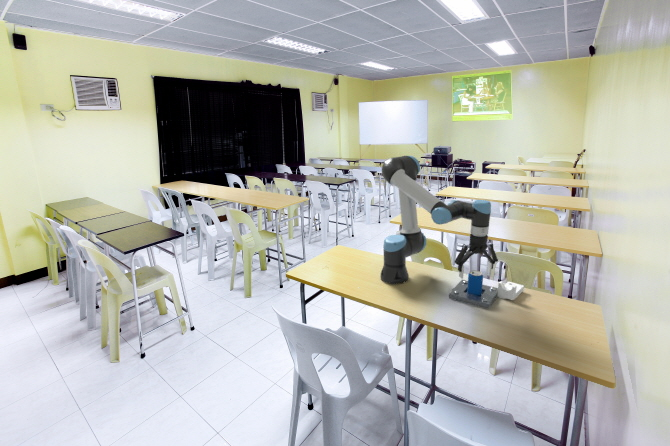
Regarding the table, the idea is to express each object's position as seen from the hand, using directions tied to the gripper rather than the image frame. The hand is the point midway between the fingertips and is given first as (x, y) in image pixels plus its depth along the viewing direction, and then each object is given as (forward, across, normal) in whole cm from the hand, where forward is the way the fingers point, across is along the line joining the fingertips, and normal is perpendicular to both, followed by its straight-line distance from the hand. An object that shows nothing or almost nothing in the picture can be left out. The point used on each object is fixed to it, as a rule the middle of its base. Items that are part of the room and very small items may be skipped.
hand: (474, 276), depth 162 cm
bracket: (+10, +18, -2) cm, 21 cm away
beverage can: (+10, 0, -1) cm, 10 cm away
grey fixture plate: (+10, 0, -1) cm, 10 cm away
